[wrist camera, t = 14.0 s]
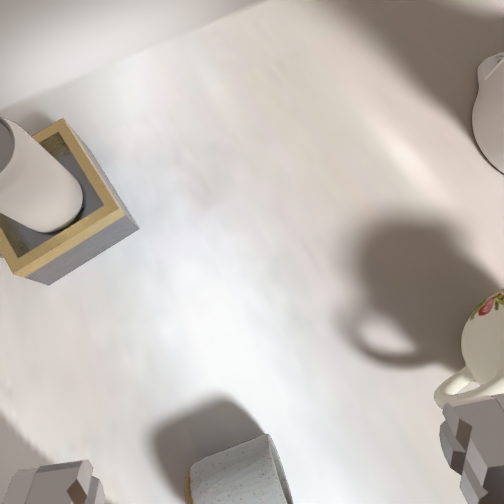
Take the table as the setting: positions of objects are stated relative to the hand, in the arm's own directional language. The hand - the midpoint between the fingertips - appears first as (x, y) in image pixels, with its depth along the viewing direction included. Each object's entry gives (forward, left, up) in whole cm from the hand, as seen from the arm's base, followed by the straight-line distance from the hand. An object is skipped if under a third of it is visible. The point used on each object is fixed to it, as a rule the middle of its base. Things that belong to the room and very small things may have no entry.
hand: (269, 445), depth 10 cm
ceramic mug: (+7, +8, -36) cm, 37 cm away
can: (+8, -25, -31) cm, 40 cm away
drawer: (+8, -25, -35) cm, 44 cm away
